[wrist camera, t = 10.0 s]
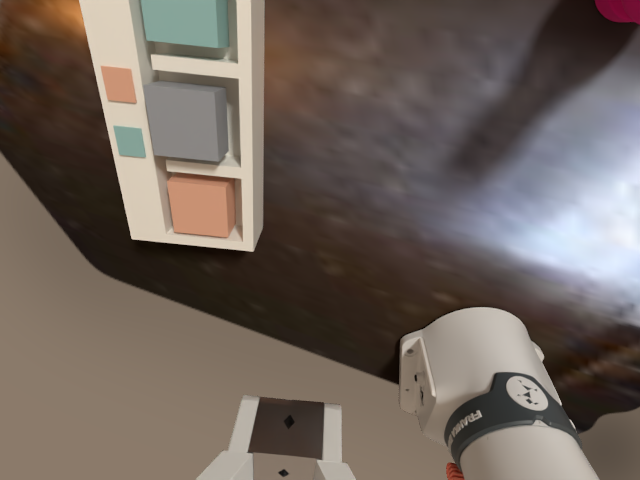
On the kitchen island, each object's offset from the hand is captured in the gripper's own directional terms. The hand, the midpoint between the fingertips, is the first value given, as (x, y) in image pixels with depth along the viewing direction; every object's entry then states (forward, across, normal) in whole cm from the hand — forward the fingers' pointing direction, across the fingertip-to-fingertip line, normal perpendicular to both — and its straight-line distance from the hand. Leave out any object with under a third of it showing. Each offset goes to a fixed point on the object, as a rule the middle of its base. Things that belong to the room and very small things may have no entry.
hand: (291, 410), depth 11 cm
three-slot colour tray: (+27, +12, -3) cm, 30 cm away
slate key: (+23, +11, -3) cm, 26 cm away
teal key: (+25, +11, -11) cm, 29 cm away
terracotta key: (+25, +11, +5) cm, 27 cm away
